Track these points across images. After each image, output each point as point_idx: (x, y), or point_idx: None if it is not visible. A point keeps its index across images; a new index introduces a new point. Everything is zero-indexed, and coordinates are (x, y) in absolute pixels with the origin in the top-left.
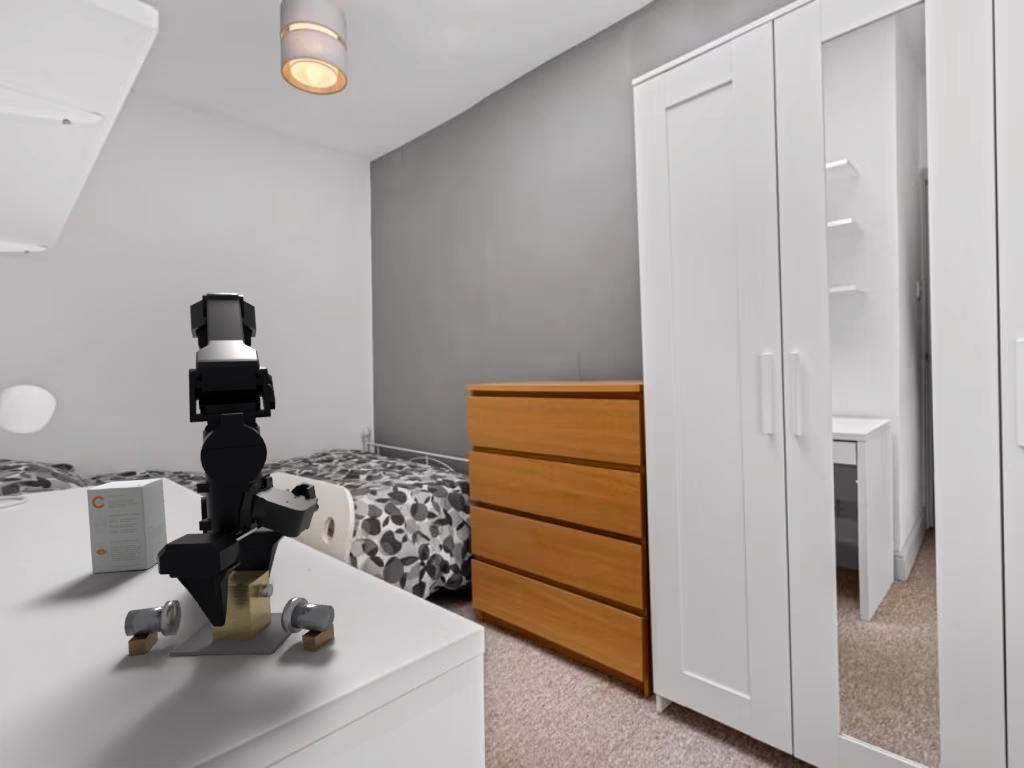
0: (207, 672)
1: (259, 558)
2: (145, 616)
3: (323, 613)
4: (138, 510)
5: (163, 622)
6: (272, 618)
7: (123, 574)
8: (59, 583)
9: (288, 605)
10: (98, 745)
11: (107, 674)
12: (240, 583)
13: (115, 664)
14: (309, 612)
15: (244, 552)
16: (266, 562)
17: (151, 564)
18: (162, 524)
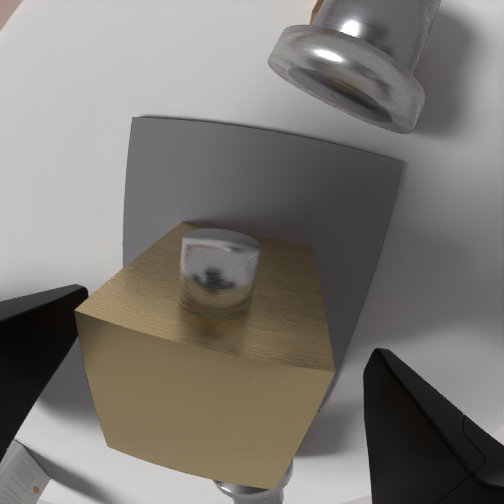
0: (436, 307)
1: (2, 372)
2: (273, 498)
3: None
4: None
5: (292, 470)
6: (162, 224)
7: (41, 461)
8: (77, 495)
9: (408, 94)
10: None
11: (352, 454)
12: (277, 417)
13: (318, 458)
14: (427, 12)
15: (10, 436)
16: (6, 335)
17: (15, 443)
18: None
